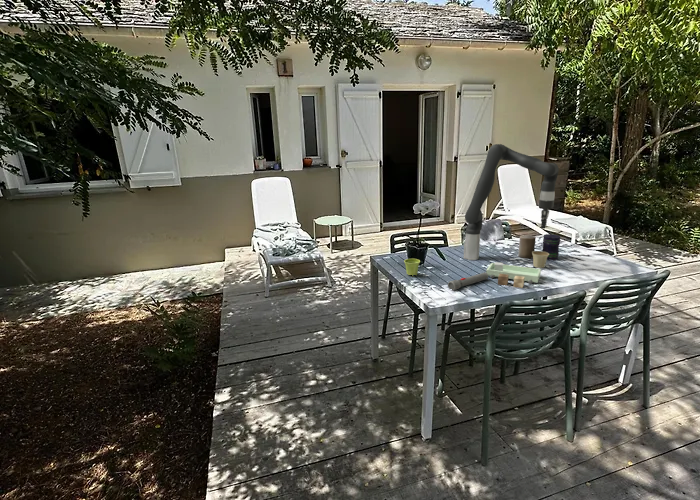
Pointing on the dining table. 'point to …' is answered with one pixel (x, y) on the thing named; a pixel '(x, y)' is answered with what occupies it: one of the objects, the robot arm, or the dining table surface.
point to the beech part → (518, 282)
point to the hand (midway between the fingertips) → (543, 226)
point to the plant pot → (412, 266)
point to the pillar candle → (526, 246)
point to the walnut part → (503, 279)
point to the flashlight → (467, 281)
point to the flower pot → (539, 258)
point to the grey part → (498, 266)
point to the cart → (515, 272)
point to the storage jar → (551, 246)
